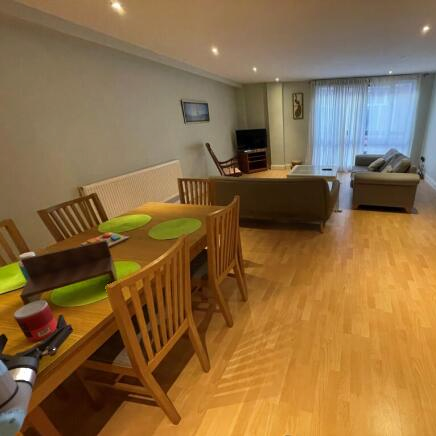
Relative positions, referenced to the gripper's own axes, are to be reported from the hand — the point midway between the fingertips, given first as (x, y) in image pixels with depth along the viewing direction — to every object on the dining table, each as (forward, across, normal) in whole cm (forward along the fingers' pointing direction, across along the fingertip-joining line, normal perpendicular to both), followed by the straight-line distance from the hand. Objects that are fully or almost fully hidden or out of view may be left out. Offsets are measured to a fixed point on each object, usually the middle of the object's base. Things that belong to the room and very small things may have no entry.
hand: (34, 326), depth 79 cm
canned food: (+4, 0, -6) cm, 7 cm away
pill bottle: (+48, -8, -6) cm, 49 cm away
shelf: (+27, +8, -6) cm, 28 cm away
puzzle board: (+75, +18, -6) cm, 77 cm away
